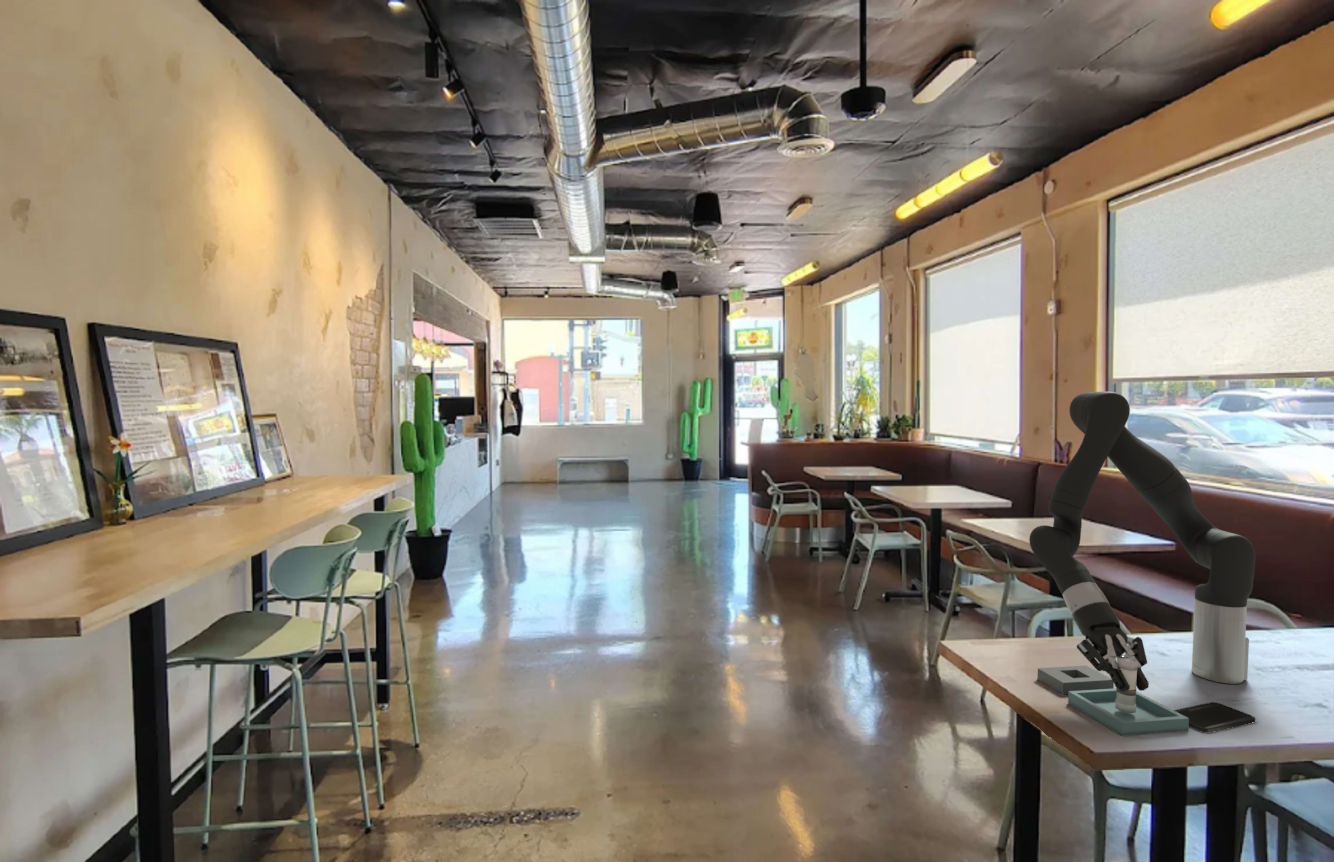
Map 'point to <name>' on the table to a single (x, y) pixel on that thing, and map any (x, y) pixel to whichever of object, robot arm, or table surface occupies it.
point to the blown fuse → (1128, 698)
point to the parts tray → (1143, 721)
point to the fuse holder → (1074, 678)
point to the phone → (1214, 717)
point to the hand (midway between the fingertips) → (1134, 689)
